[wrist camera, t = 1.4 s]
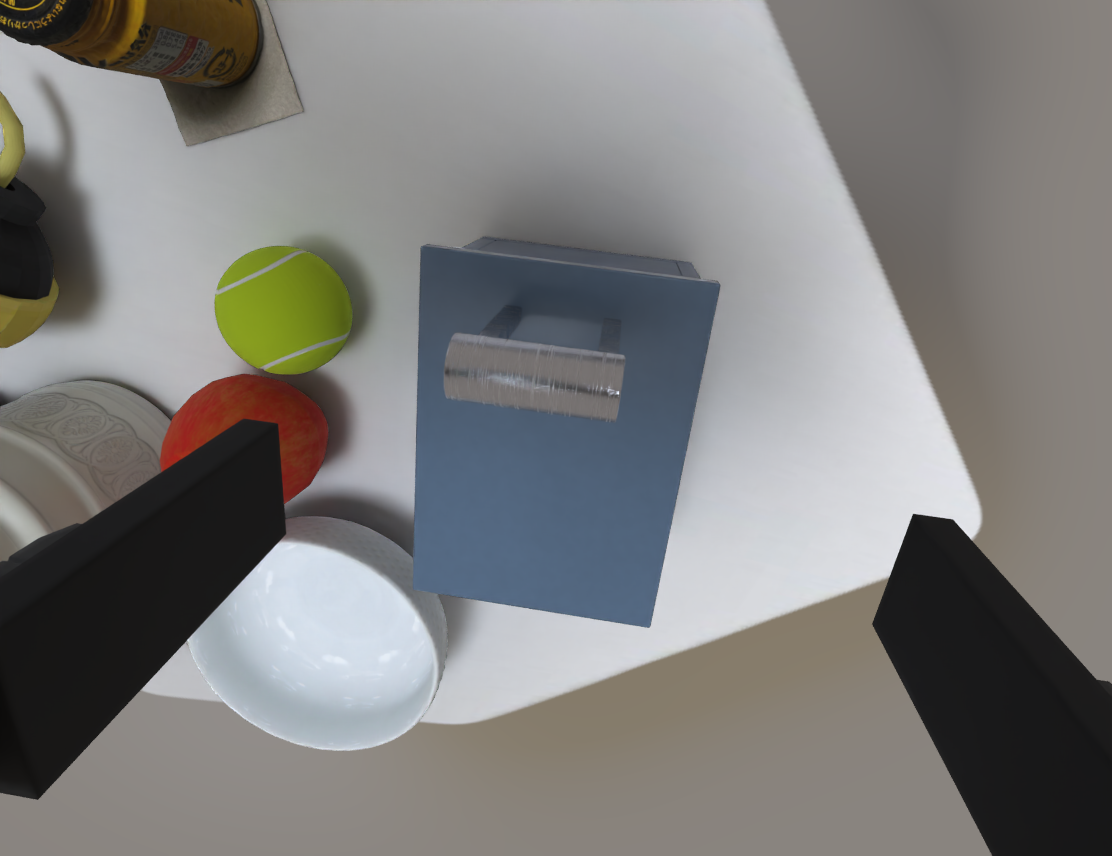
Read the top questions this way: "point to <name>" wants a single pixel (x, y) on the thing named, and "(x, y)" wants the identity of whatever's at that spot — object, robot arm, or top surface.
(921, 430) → the top surface
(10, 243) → the bomb
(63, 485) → the jar
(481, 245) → the blue-grey open box
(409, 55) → the top surface
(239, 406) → the apple
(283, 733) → the cereal bowl
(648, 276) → the lid
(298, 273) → the tennis ball
